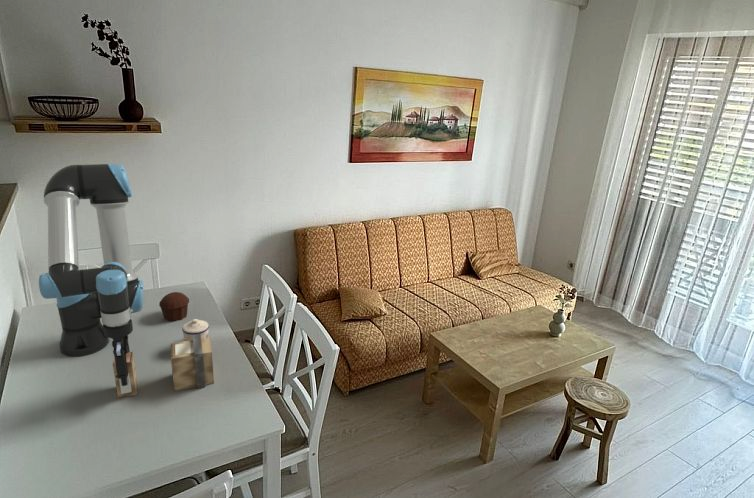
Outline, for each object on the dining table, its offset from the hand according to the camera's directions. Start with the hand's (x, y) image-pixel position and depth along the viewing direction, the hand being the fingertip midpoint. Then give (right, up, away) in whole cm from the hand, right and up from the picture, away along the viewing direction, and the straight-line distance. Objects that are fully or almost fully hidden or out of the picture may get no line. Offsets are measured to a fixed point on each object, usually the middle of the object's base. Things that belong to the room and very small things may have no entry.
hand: (127, 385), depth 143 cm
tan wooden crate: (+18, 0, +8) cm, 19 cm away
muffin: (-5, +15, +46) cm, 48 cm away
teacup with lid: (+12, +7, +27) cm, 30 cm away
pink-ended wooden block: (0, -2, +1) cm, 2 cm away
